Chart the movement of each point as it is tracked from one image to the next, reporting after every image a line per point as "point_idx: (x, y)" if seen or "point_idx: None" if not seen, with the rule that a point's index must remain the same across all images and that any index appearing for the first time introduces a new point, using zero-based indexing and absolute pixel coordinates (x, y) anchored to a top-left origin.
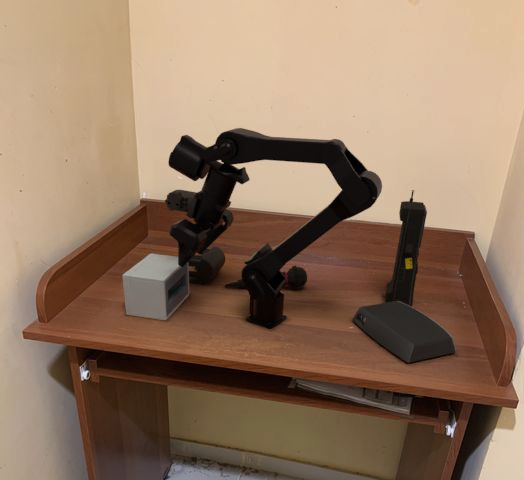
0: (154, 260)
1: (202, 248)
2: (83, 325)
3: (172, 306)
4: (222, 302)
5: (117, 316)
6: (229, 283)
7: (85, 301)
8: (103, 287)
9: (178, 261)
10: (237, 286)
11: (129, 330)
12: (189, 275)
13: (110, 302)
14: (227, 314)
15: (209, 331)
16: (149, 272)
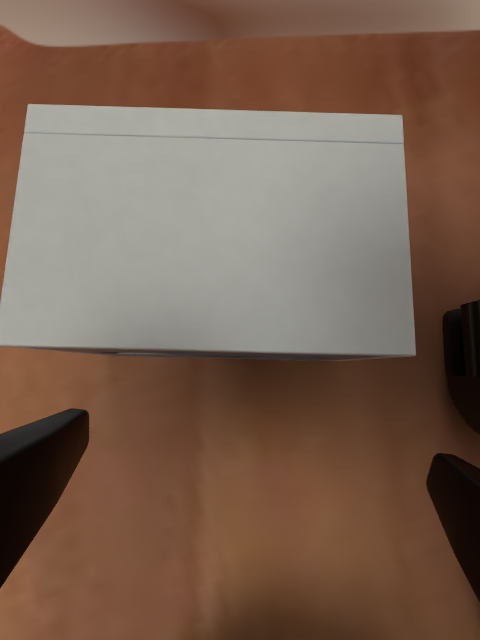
0: (296, 177)
1: (455, 521)
2: (20, 133)
3: (162, 356)
4: (312, 509)
5: None
6: None
7: (179, 66)
8: (296, 69)
9: (45, 421)
10: None
11: None
12: (464, 320)
13: None
14: (213, 562)
15: (59, 535)
16: (99, 221)
